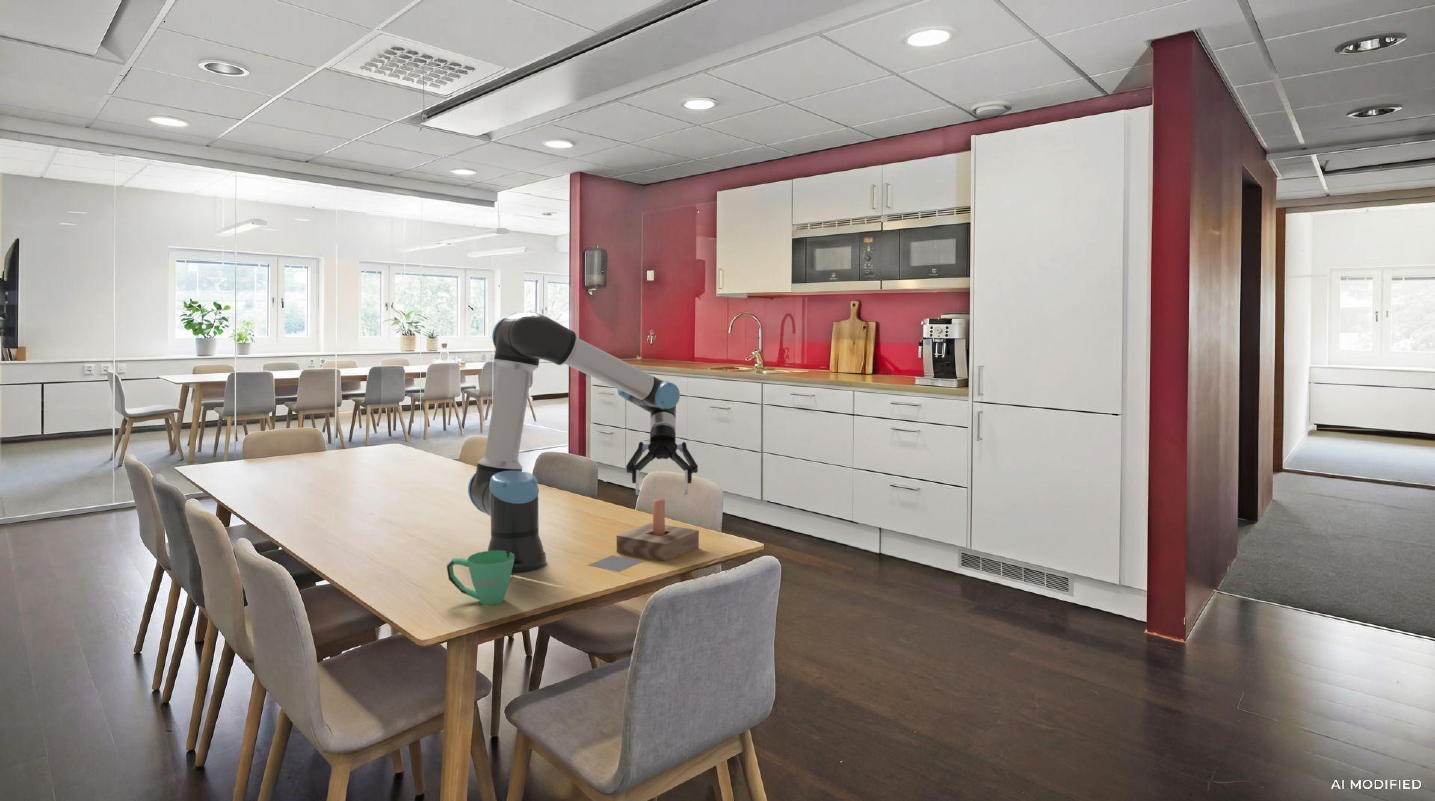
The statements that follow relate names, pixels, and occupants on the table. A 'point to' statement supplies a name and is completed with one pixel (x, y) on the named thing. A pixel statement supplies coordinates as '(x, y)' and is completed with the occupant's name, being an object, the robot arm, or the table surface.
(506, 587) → the mug
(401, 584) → the table surface
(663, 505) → the peg
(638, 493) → the robot arm
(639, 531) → the hole block
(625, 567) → the mat
